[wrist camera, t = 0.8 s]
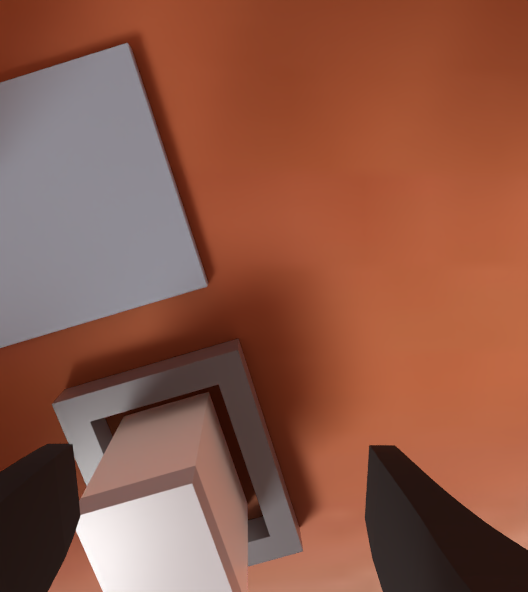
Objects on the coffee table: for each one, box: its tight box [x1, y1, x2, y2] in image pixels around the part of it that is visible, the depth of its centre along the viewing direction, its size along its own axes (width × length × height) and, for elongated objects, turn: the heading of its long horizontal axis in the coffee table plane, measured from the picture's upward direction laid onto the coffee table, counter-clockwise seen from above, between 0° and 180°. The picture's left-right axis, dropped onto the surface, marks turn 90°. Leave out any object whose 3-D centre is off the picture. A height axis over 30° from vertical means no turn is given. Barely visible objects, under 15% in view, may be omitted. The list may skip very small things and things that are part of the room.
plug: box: [76, 392, 248, 592], centre depth 20 cm, size 4×6×7 cm, turn 16°
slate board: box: [0, 43, 208, 348], centre depth 20 cm, size 11×10×1 cm
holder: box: [52, 339, 303, 566], centre depth 22 cm, size 8×10×2 cm
